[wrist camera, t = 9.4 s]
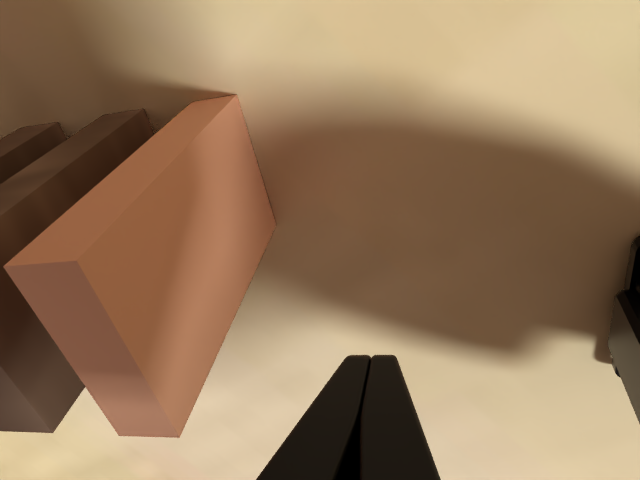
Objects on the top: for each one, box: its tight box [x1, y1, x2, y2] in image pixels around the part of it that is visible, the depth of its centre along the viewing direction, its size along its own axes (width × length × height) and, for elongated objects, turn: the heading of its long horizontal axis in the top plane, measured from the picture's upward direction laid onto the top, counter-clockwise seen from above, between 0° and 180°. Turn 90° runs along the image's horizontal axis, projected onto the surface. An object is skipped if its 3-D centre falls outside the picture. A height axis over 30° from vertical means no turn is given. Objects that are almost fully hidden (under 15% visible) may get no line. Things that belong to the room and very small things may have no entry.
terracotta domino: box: [3, 94, 276, 438], centre depth 14 cm, size 2×5×9 cm, turn 12°
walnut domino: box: [0, 109, 154, 433], centre depth 15 cm, size 2×5×9 cm, turn 11°
